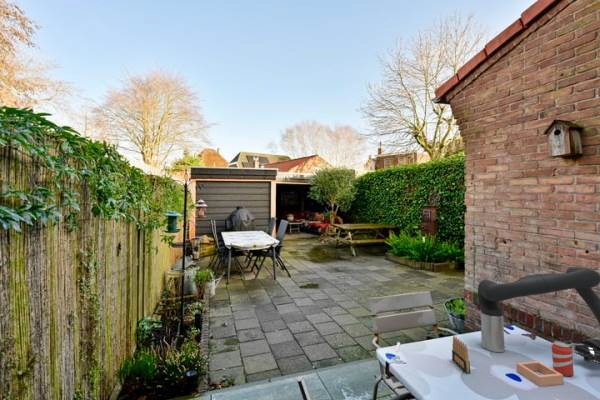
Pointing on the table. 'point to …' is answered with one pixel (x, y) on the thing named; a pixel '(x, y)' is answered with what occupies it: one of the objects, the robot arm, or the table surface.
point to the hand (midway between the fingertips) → (572, 353)
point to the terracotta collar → (541, 380)
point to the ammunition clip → (460, 355)
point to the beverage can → (562, 358)
